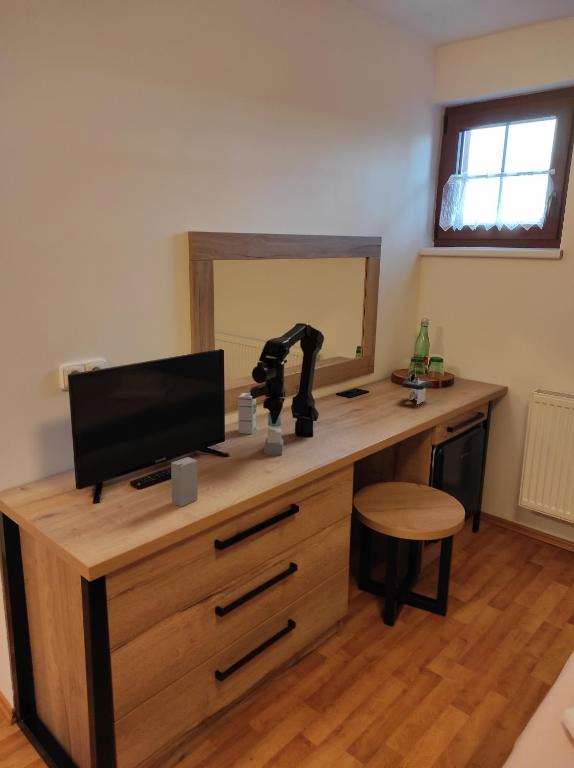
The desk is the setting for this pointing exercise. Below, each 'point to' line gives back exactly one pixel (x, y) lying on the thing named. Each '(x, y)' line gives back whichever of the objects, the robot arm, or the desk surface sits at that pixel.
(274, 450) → the base block
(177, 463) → the skincare box
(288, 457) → the desk surface
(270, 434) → the top block
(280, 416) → the teal cylinder
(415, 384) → the black-topped pedestal
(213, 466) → the desk surface
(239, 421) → the syrup box
